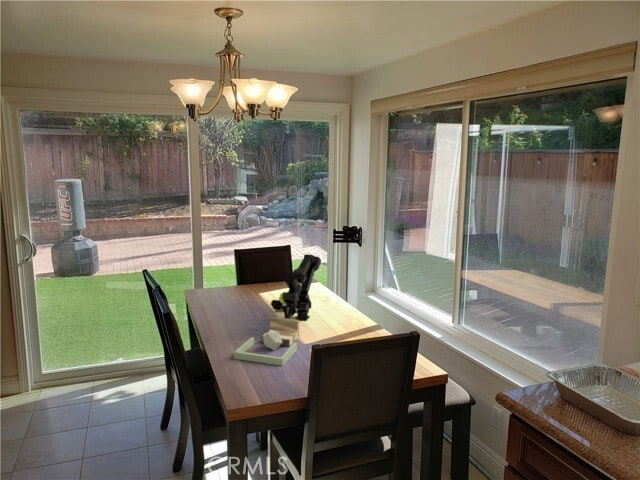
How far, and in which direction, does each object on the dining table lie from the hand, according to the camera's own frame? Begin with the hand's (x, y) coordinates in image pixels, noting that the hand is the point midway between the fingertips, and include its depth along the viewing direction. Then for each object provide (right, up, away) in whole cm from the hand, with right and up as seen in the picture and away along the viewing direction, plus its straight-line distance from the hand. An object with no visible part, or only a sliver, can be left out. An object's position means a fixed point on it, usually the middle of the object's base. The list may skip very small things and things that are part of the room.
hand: (285, 321), depth 230 cm
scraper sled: (-2, -8, -5) cm, 9 cm away
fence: (-7, -10, -21) cm, 24 cm away
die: (-5, -10, -15) cm, 18 cm away
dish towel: (0, +2, +51) cm, 51 cm away
